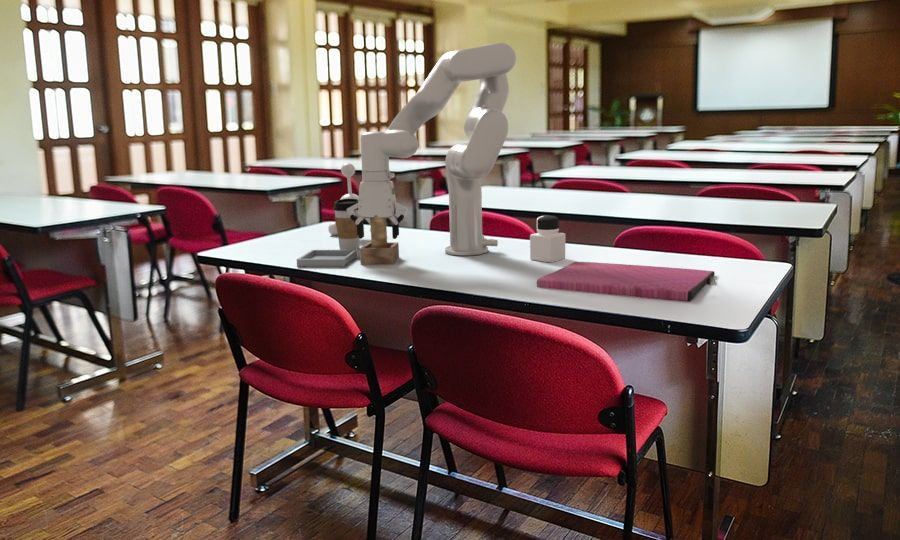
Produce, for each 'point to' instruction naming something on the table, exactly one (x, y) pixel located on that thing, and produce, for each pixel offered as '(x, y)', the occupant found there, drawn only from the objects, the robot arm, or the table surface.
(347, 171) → the molecular model
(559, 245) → the medicine bottle
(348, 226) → the coffee cup
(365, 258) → the shallow tan box
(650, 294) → the maroon flat block
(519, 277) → the table surface
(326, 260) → the tray
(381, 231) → the dowel
